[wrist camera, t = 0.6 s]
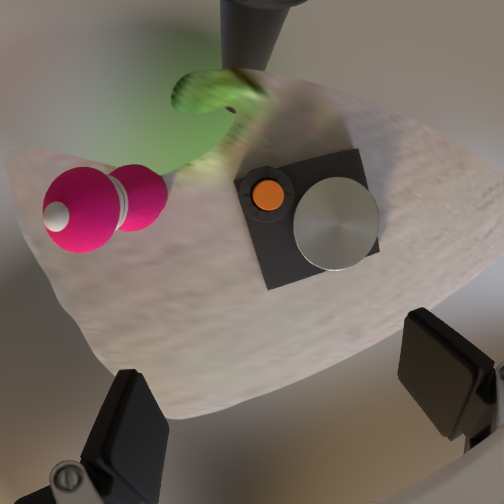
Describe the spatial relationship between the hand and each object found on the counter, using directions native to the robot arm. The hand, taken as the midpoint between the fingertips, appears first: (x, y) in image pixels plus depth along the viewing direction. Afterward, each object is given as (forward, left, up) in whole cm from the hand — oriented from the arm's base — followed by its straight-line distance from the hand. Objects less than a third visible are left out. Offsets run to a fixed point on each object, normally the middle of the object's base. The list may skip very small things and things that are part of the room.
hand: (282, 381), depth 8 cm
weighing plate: (+2, +11, -23) cm, 26 cm away
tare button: (-4, +4, -24) cm, 24 cm away
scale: (+1, +9, -27) cm, 28 cm away
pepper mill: (-8, -10, -27) cm, 30 cm away
